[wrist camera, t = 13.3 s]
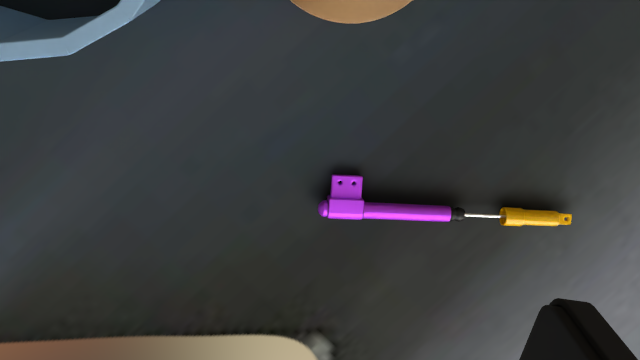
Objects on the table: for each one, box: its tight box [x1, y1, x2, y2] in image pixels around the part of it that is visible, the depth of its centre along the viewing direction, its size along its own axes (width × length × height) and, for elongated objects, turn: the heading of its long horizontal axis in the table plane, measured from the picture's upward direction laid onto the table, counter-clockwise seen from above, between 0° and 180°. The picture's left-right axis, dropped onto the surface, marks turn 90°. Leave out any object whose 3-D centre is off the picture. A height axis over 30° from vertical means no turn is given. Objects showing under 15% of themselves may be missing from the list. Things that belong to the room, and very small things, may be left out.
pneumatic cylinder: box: [318, 174, 572, 226], centre depth 36 cm, size 3×1×16 cm
